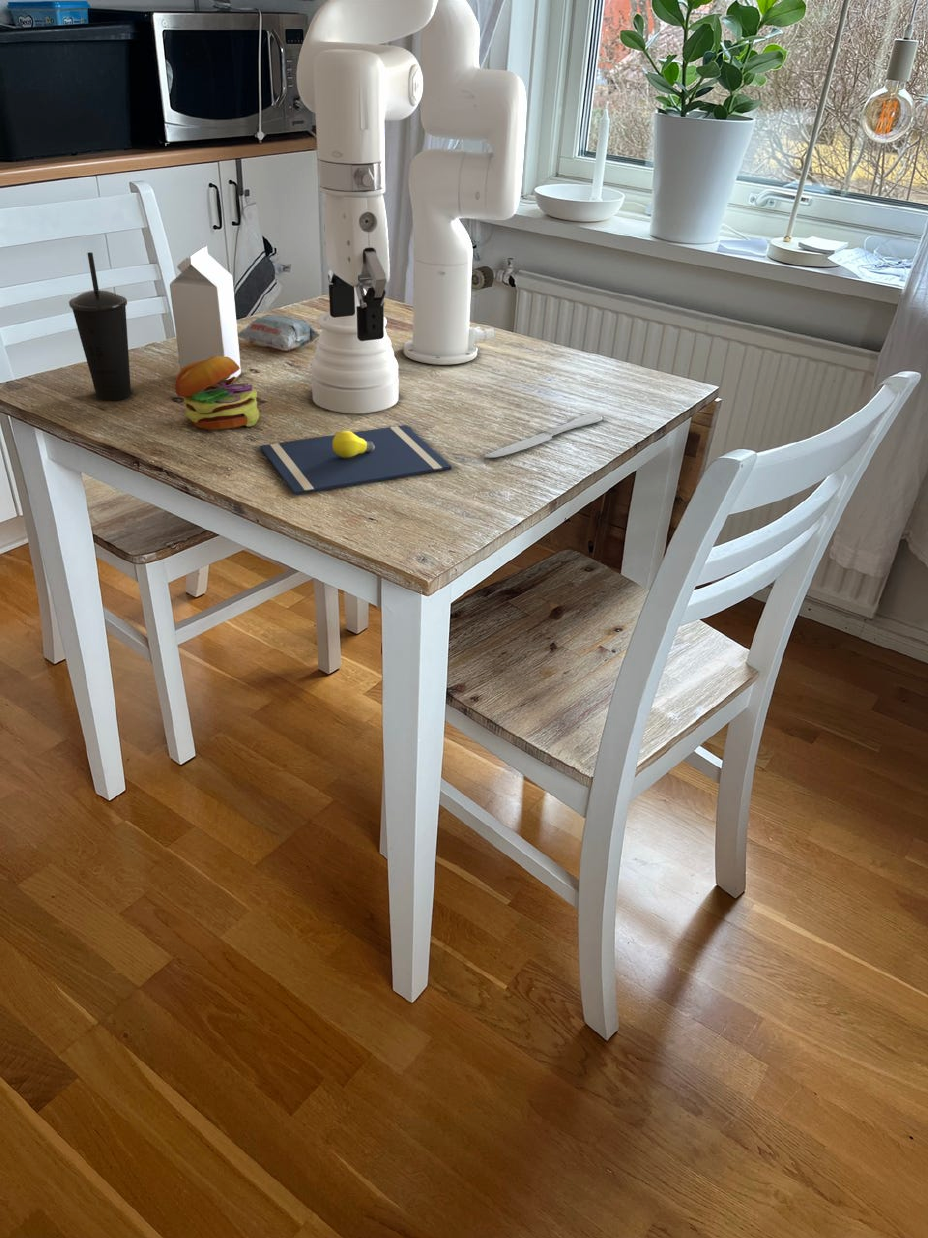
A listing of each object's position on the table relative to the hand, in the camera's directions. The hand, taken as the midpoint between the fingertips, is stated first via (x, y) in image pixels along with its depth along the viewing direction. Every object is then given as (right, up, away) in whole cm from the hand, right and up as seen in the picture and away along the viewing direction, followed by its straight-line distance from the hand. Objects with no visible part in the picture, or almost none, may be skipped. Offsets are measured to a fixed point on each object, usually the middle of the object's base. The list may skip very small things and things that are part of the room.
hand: (356, 327), depth 117 cm
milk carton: (-26, +1, +30) cm, 39 cm away
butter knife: (+25, -11, +15) cm, 31 cm away
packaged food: (-18, +10, +44) cm, 49 cm away
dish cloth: (-1, -15, +7) cm, 17 cm away
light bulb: (-1, -15, +7) cm, 16 cm away
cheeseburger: (-21, -8, +16) cm, 28 cm away
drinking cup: (-38, -3, +22) cm, 45 cm away
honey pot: (-3, -3, +25) cm, 26 cm away
